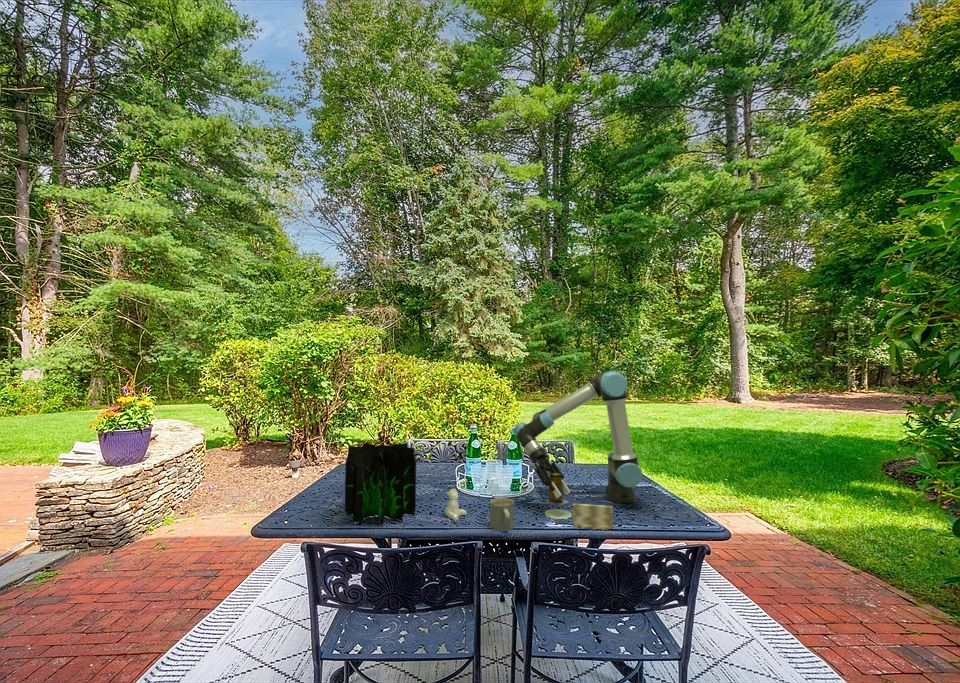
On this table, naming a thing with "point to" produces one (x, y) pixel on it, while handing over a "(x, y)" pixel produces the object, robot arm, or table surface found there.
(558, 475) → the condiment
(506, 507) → the coffee mug
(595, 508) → the birch screen
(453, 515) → the white creature statuette
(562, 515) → the pad
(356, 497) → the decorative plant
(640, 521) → the table surface
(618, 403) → the robot arm
